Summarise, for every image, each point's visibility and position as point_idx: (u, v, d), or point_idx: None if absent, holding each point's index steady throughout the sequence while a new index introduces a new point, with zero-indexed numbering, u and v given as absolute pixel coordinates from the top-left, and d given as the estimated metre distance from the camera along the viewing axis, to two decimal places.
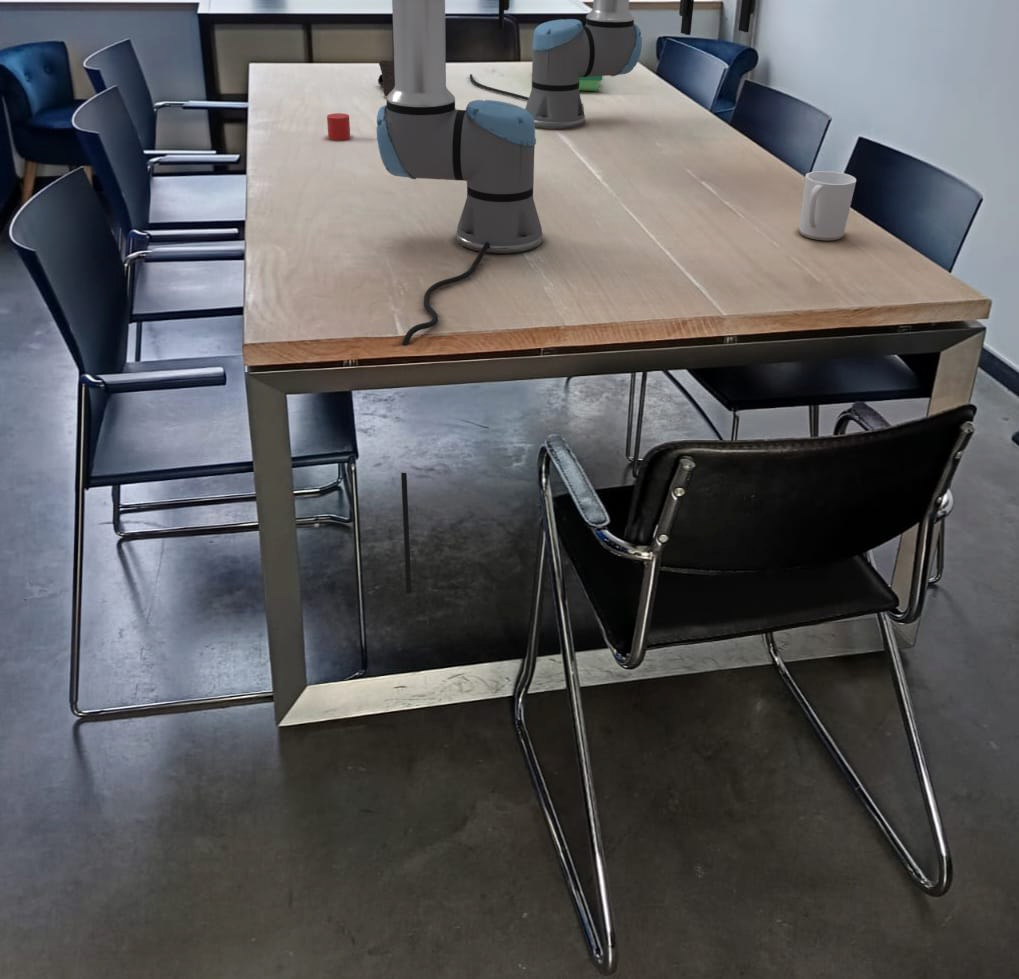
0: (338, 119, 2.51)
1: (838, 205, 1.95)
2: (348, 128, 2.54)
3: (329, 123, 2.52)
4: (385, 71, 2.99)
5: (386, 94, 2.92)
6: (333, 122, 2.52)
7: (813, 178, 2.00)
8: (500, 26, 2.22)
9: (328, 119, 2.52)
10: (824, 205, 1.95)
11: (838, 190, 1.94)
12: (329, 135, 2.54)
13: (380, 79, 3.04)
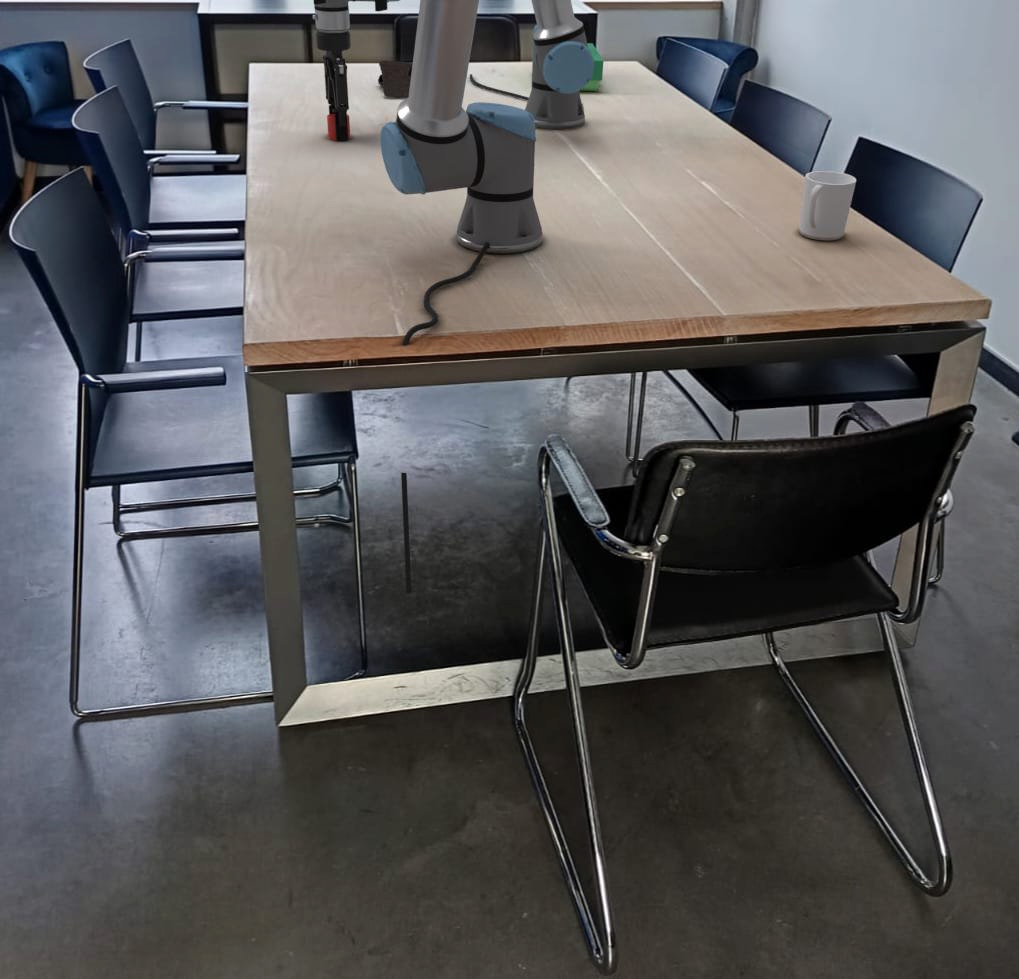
0: None
1: (838, 205, 1.95)
2: (348, 128, 2.54)
3: (329, 123, 2.52)
4: (385, 71, 2.99)
5: (386, 94, 2.92)
6: (333, 122, 2.52)
7: (813, 178, 2.00)
8: (377, 8, 1.93)
9: (328, 119, 2.52)
10: (824, 205, 1.95)
11: (838, 190, 1.94)
12: (329, 135, 2.54)
13: (380, 79, 3.04)
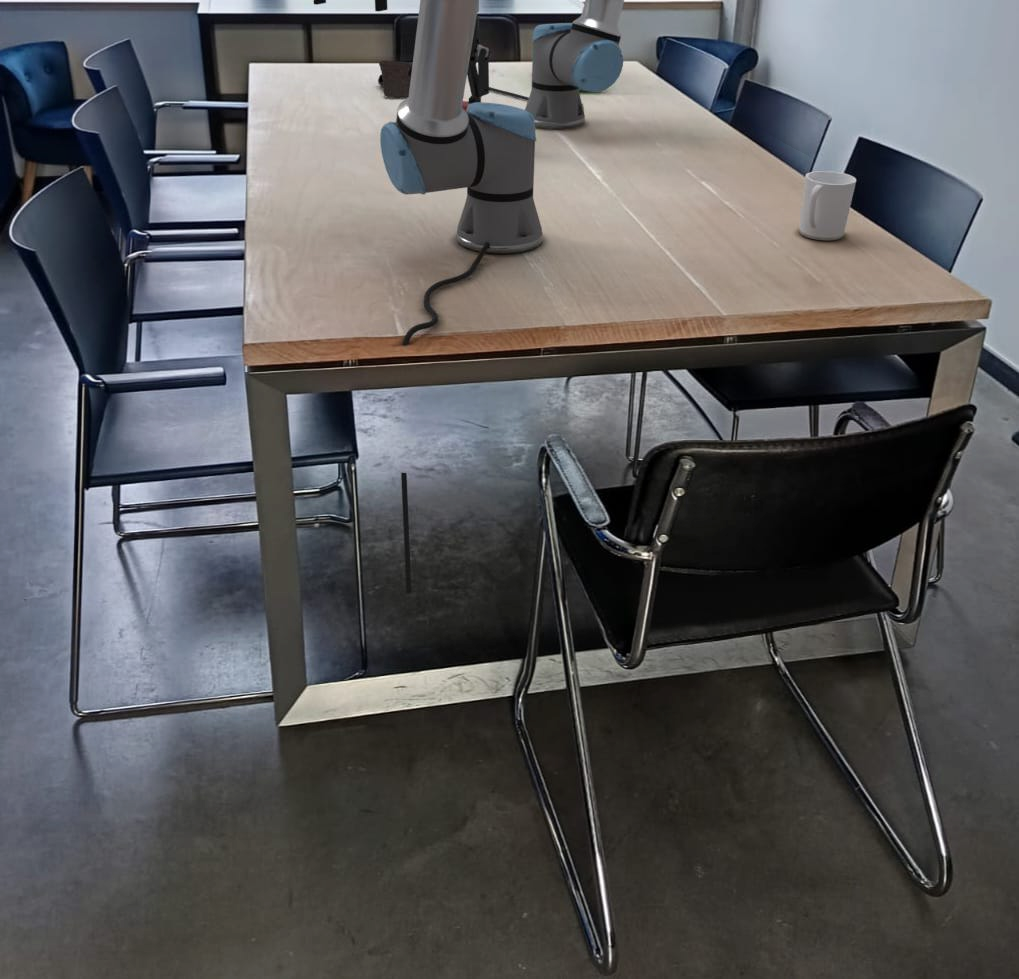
0: None
1: (838, 205, 1.95)
2: None
3: None
4: (385, 71, 2.99)
5: (386, 94, 2.92)
6: None
7: (813, 178, 2.00)
8: (377, 8, 1.93)
9: None
10: (824, 205, 1.95)
11: (838, 190, 1.94)
12: None
13: (380, 79, 3.04)
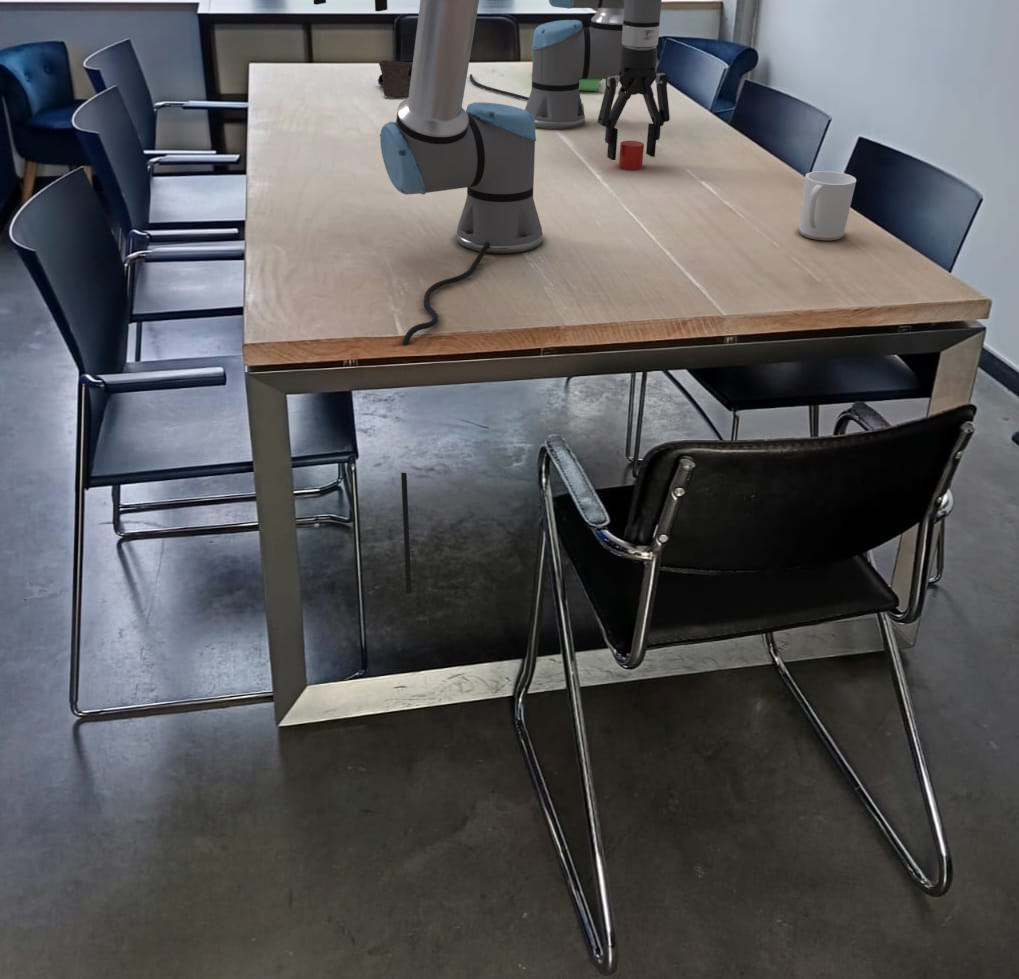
0: None
1: (838, 205, 1.95)
2: None
3: (640, 152, 2.36)
4: (385, 71, 2.99)
5: (386, 94, 2.92)
6: (643, 149, 2.37)
7: (813, 178, 2.00)
8: (377, 8, 1.93)
9: (639, 148, 2.35)
10: (824, 205, 1.95)
11: (838, 190, 1.94)
12: (638, 165, 2.37)
13: (380, 79, 3.04)
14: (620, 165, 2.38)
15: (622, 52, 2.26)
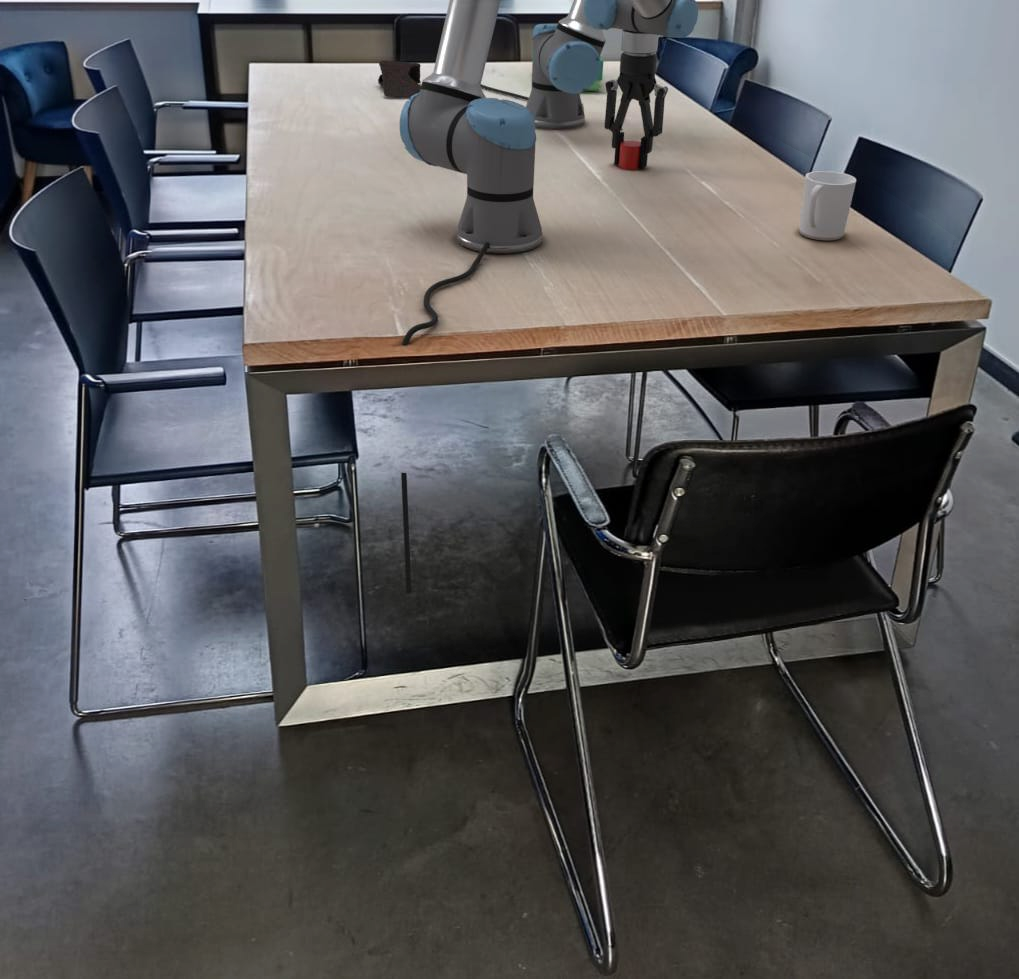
0: None
1: (838, 205, 1.95)
2: None
3: None
4: (385, 71, 2.99)
5: (386, 94, 2.92)
6: None
7: (813, 178, 2.00)
8: (640, 167, 2.37)
9: (639, 148, 2.35)
10: (824, 205, 1.95)
11: (838, 190, 1.94)
12: (638, 165, 2.37)
13: (380, 79, 3.04)
14: (620, 165, 2.38)
15: None
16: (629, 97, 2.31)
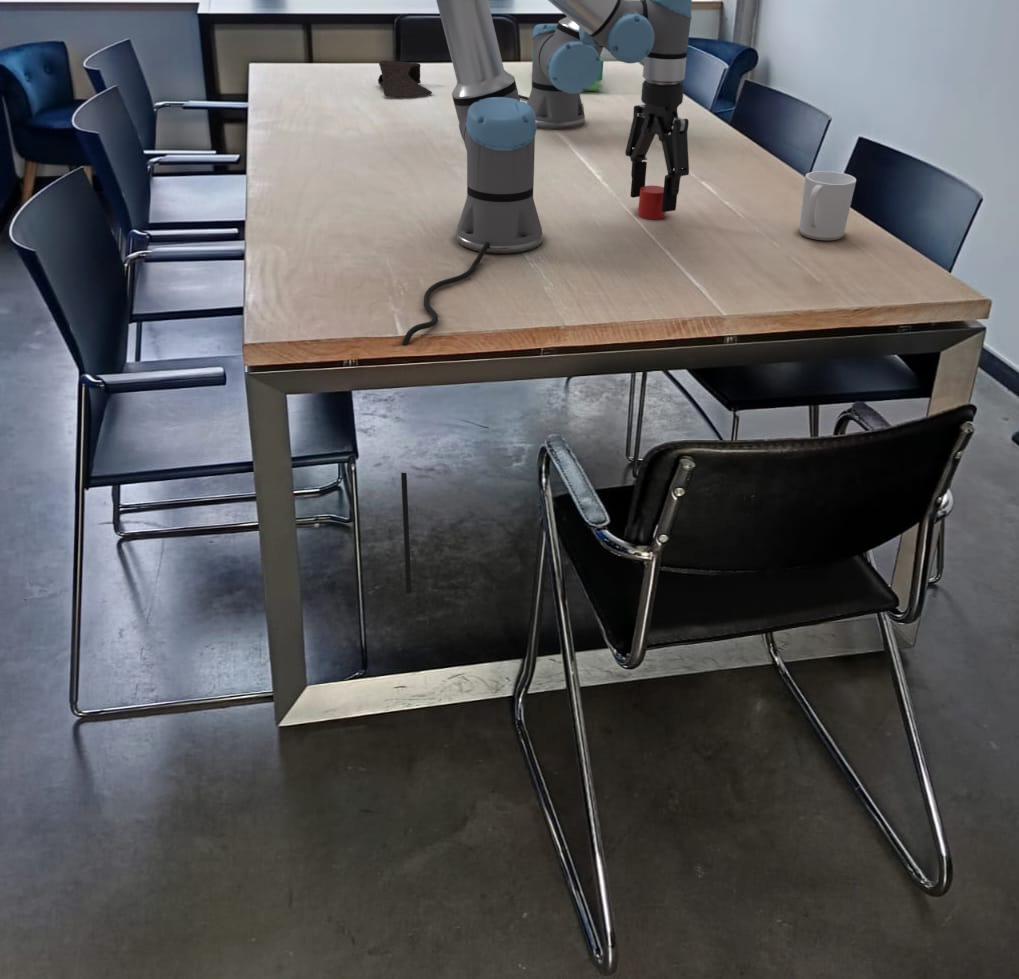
0: None
1: (838, 205, 1.95)
2: None
3: (657, 200, 2.06)
4: (385, 71, 2.99)
5: (386, 94, 2.92)
6: None
7: (813, 178, 2.00)
8: (663, 209, 2.05)
9: (656, 195, 2.06)
10: (824, 205, 1.95)
11: (838, 190, 1.94)
12: (654, 214, 2.08)
13: (380, 79, 3.04)
14: (638, 211, 2.10)
15: None
16: (649, 129, 2.03)
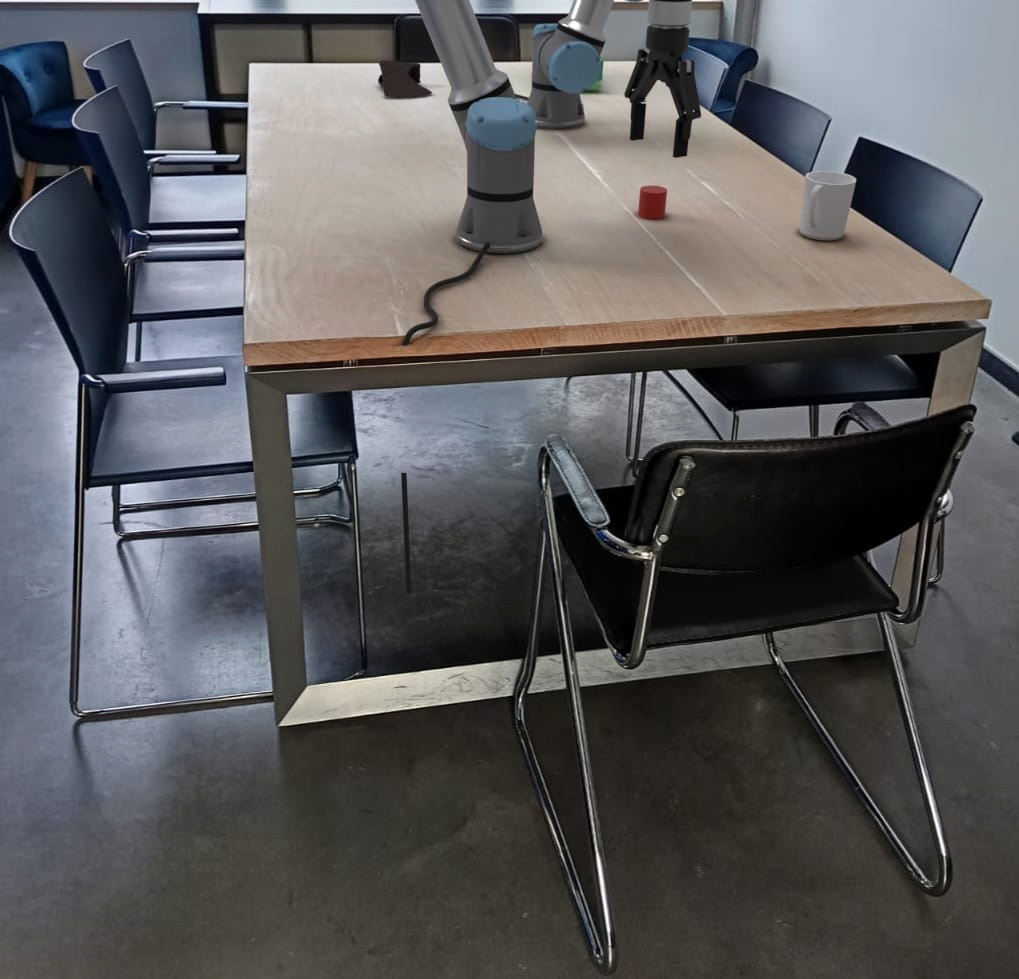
0: (666, 192, 2.07)
1: (838, 205, 1.95)
2: None
3: (657, 200, 2.06)
4: (385, 71, 2.99)
5: (386, 94, 2.92)
6: (663, 197, 2.07)
7: (813, 178, 2.00)
8: (674, 155, 1.98)
9: (656, 195, 2.06)
10: (824, 205, 1.95)
11: (838, 190, 1.94)
12: (654, 214, 2.08)
13: (380, 79, 3.04)
14: (638, 211, 2.10)
15: None
16: (652, 76, 1.98)
